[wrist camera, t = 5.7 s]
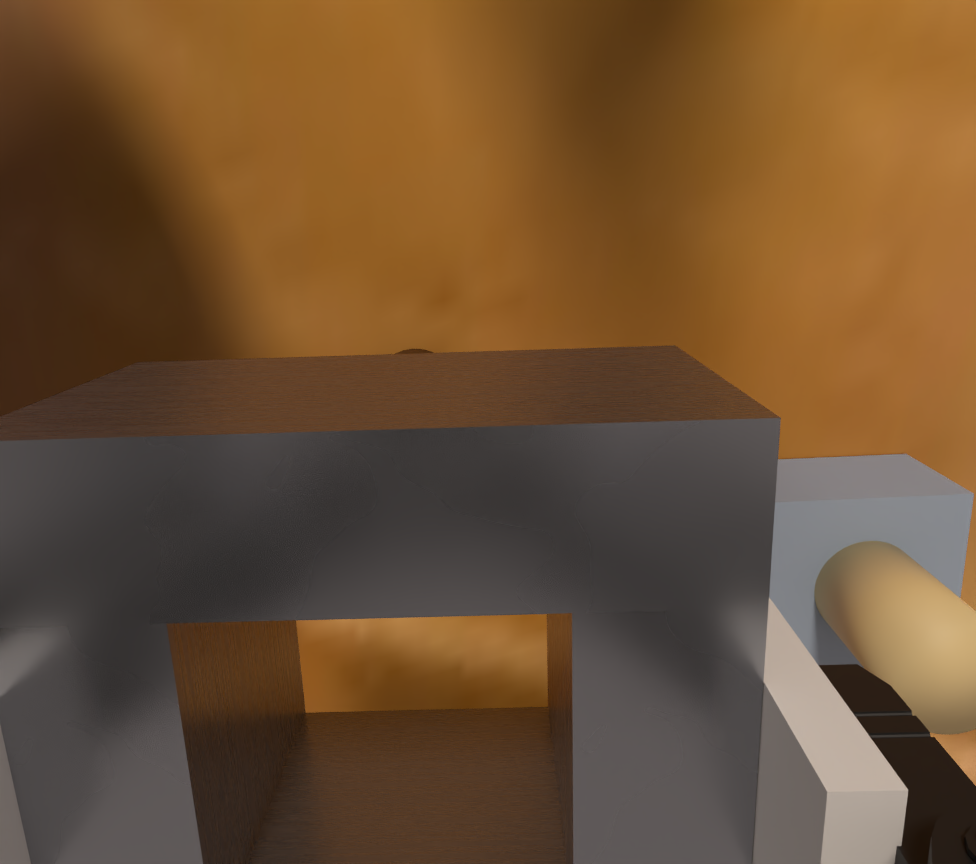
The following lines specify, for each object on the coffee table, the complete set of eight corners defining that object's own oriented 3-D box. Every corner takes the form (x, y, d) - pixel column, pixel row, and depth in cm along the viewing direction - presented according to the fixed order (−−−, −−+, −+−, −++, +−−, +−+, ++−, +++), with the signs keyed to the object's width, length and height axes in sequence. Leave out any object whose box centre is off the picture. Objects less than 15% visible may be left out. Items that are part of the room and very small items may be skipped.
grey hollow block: (204, 812, 16) (74, 1078, 11) (138, 361, 13) (-66, 443, 8) (662, 802, 15) (738, 1068, 11) (675, 345, 13) (780, 417, 8)
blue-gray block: (728, 614, 29) (829, 784, 21) (734, 461, 28) (847, 577, 19) (889, 607, 29) (1059, 775, 21) (906, 453, 28) (1096, 566, 19)
